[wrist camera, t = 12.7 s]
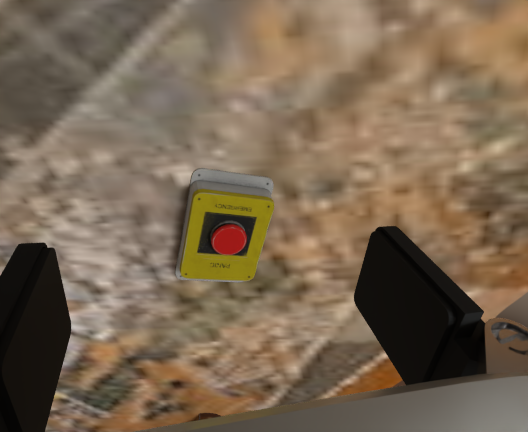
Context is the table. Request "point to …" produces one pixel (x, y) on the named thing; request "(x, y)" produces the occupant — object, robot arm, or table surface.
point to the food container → (207, 416)
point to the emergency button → (224, 226)
